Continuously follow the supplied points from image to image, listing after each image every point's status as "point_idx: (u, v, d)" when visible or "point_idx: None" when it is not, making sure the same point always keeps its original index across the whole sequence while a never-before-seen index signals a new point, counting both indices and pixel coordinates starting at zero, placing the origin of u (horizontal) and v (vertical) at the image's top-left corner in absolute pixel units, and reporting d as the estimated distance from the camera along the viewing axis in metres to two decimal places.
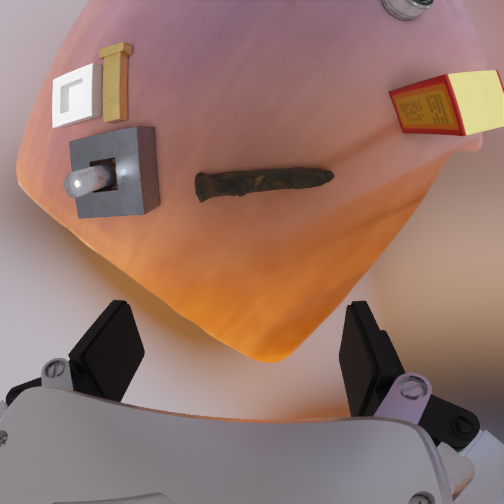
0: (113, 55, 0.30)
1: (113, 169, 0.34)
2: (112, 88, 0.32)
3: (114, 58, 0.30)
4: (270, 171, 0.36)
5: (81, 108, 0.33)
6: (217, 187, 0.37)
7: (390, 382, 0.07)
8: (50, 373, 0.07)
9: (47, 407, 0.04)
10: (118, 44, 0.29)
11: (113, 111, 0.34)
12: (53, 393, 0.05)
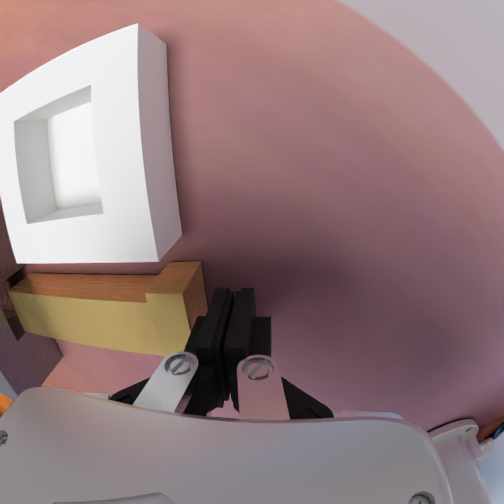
0: (157, 336, 0.12)
1: None
2: (67, 325, 0.12)
3: (146, 338, 0.12)
4: None
5: (23, 222, 0.10)
6: None
7: None
8: (171, 366, 0.08)
9: (47, 407, 0.04)
10: None
11: (29, 320, 0.13)
12: (53, 393, 0.05)
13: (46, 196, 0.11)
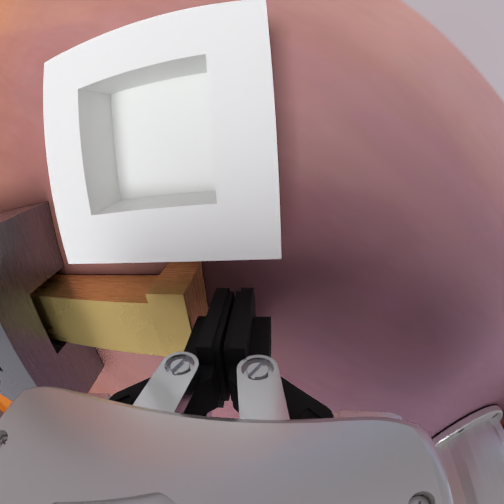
0: (157, 336, 0.12)
1: None
2: (67, 326, 0.12)
3: (147, 339, 0.12)
4: None
5: (86, 212, 0.09)
6: None
7: None
8: (171, 366, 0.08)
9: (47, 407, 0.04)
10: None
11: None
12: (53, 393, 0.05)
13: (110, 183, 0.11)
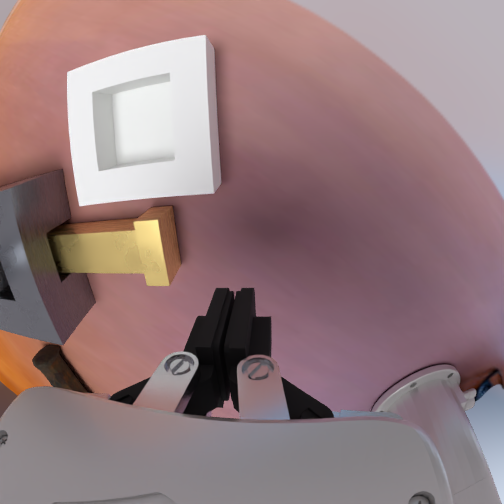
0: (140, 256, 0.17)
1: None
2: (74, 258, 0.17)
3: (132, 259, 0.17)
4: None
5: (95, 169, 0.14)
6: (51, 381, 0.24)
7: None
8: (171, 366, 0.08)
9: (47, 407, 0.04)
10: (163, 273, 0.17)
11: None
12: (53, 393, 0.05)
13: (110, 153, 0.16)
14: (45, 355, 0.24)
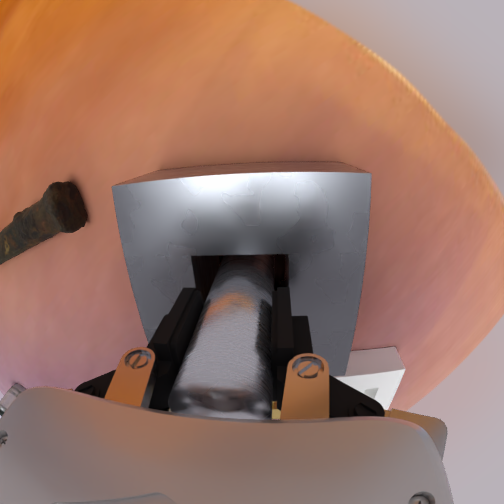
0: None
1: None
2: None
3: None
4: (7, 259, 0.18)
5: None
6: (33, 223, 0.16)
7: None
8: (130, 361, 0.08)
9: (47, 407, 0.04)
10: None
11: None
12: (53, 393, 0.05)
13: None
14: (70, 215, 0.17)
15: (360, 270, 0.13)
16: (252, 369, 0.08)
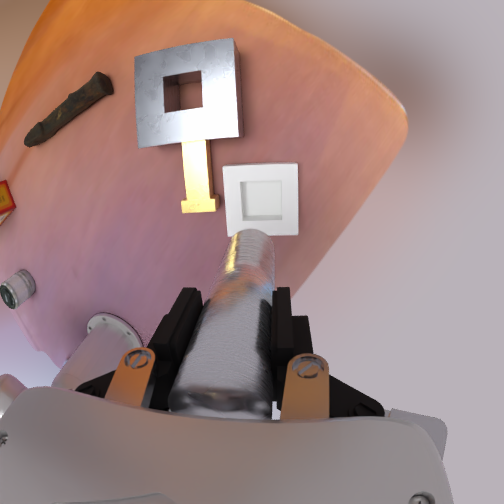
0: (195, 197, 0.35)
1: None
2: (191, 153, 0.33)
3: (193, 193, 0.35)
4: (56, 124, 0.32)
5: (240, 179, 0.34)
6: (83, 91, 0.29)
7: None
8: (130, 361, 0.08)
9: (47, 407, 0.04)
10: (188, 210, 0.35)
11: None
12: (53, 393, 0.05)
13: None
14: (105, 85, 0.30)
15: (233, 73, 0.26)
16: (252, 368, 0.08)
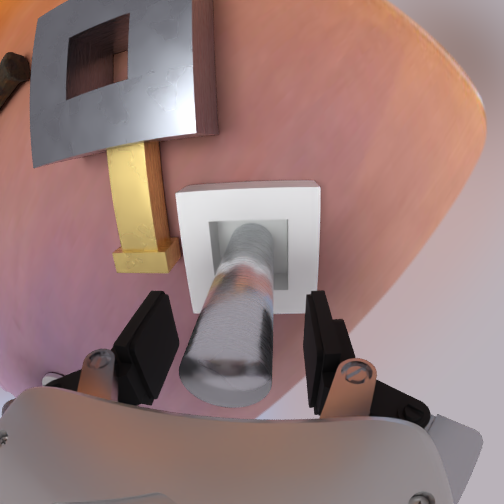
0: (135, 247, 0.19)
1: None
2: (122, 169, 0.17)
3: (131, 240, 0.19)
4: None
5: (210, 218, 0.18)
6: None
7: (336, 366, 0.08)
8: (93, 363, 0.08)
9: (47, 407, 0.04)
10: (125, 269, 0.20)
11: None
12: (53, 393, 0.05)
13: None
14: (17, 68, 0.14)
15: (188, 8, 0.10)
16: (254, 338, 0.09)
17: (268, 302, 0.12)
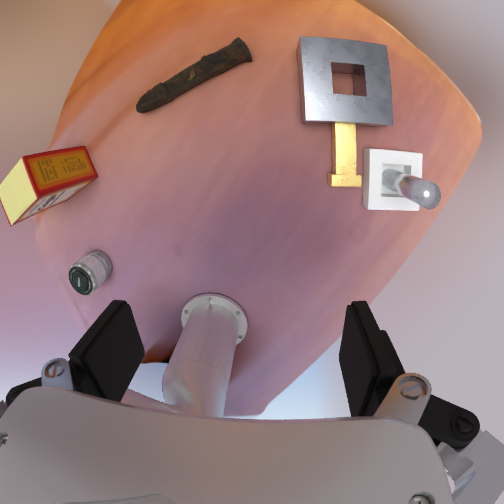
0: (344, 173, 0.37)
1: (394, 187, 0.34)
2: (343, 133, 0.35)
3: (342, 169, 0.37)
4: (185, 86, 0.34)
5: (383, 161, 0.36)
6: (225, 53, 0.31)
7: (390, 382, 0.07)
8: (50, 373, 0.07)
9: (47, 407, 0.04)
10: (337, 184, 0.38)
11: None
12: (53, 393, 0.05)
13: None
14: (249, 51, 0.32)
15: (388, 74, 0.28)
16: None
17: None
